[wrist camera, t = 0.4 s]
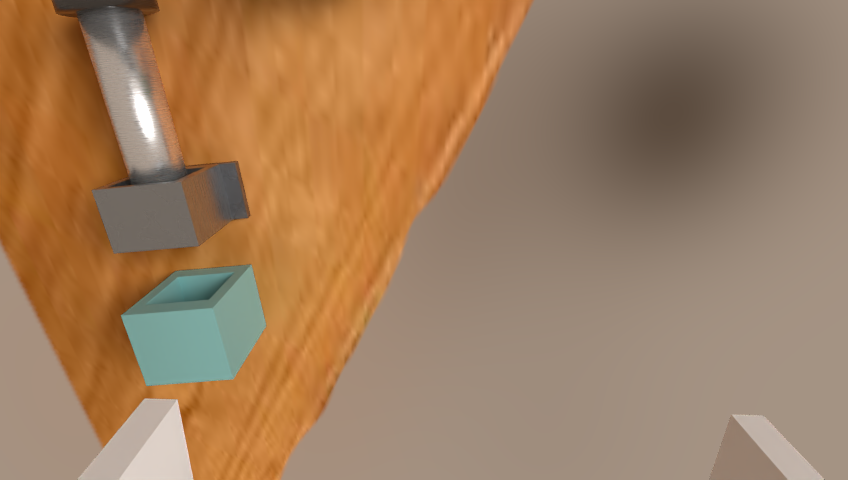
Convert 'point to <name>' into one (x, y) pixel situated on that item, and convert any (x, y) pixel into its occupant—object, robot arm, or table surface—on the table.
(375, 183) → the table surface
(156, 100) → the plunger
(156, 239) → the guide
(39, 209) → the table surface
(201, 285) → the socket
